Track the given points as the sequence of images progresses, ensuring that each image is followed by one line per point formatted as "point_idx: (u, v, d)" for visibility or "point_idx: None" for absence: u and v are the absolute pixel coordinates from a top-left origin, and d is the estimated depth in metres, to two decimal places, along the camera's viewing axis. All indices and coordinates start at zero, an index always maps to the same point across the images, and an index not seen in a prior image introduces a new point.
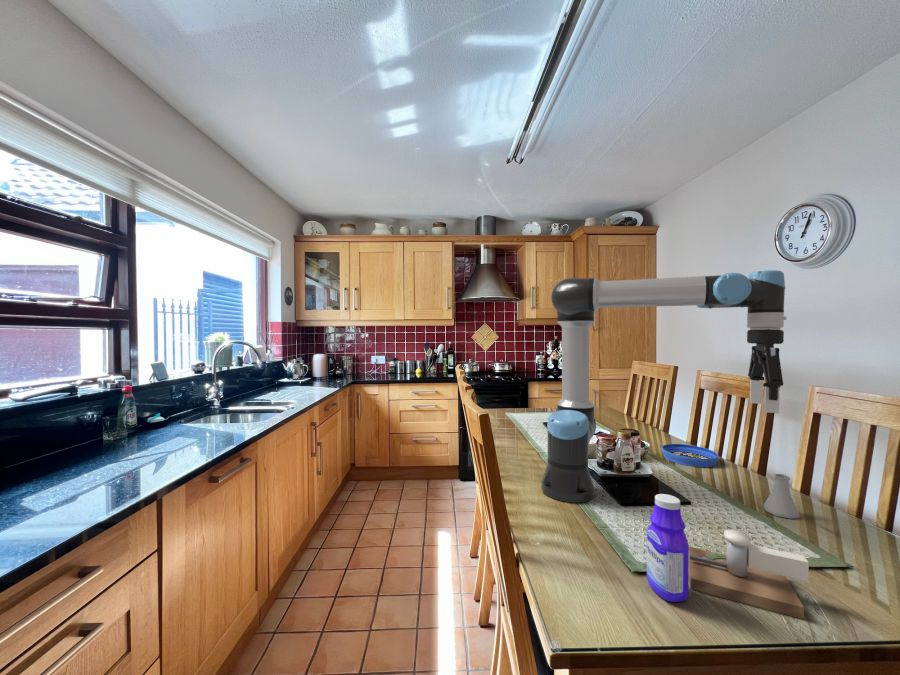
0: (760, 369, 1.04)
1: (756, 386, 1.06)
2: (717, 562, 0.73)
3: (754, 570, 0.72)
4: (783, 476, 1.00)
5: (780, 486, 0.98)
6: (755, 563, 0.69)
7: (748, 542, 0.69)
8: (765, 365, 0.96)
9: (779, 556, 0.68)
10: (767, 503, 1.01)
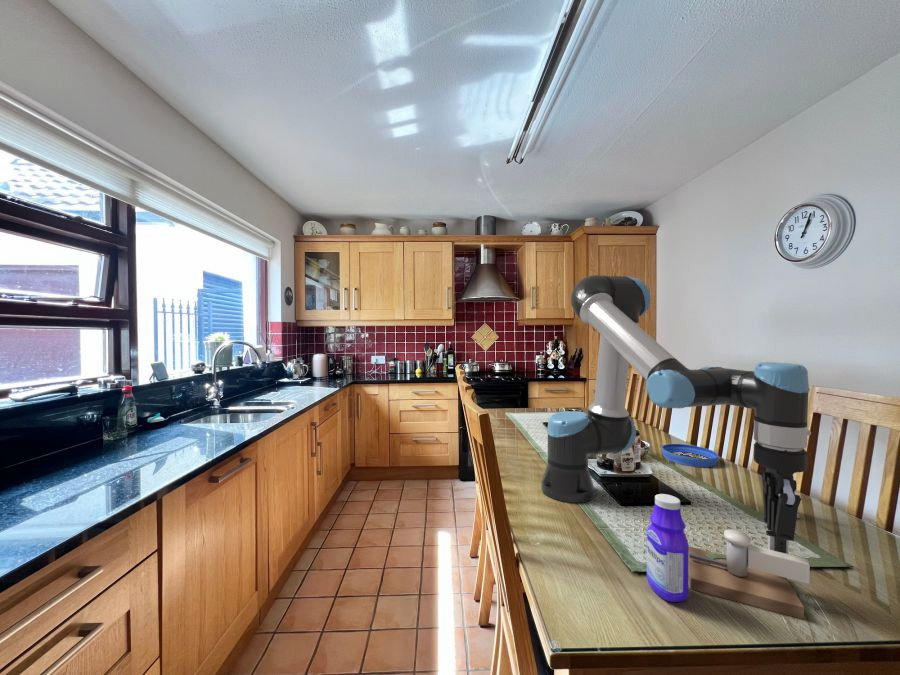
0: None
1: None
2: (717, 561, 0.73)
3: (754, 570, 0.72)
4: None
5: None
6: (755, 563, 0.69)
7: (747, 542, 0.69)
8: (775, 506, 0.69)
9: (779, 557, 0.67)
10: None
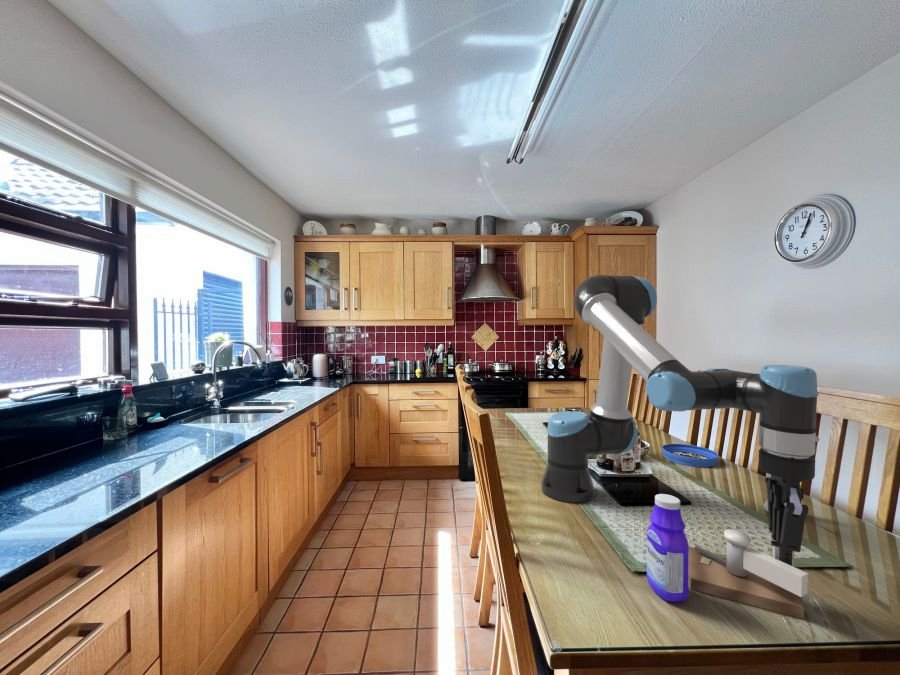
0: None
1: None
2: (719, 558, 0.74)
3: None
4: None
5: None
6: (749, 565, 0.68)
7: (742, 542, 0.69)
8: (781, 515, 0.66)
9: (772, 564, 0.65)
10: (767, 503, 1.01)
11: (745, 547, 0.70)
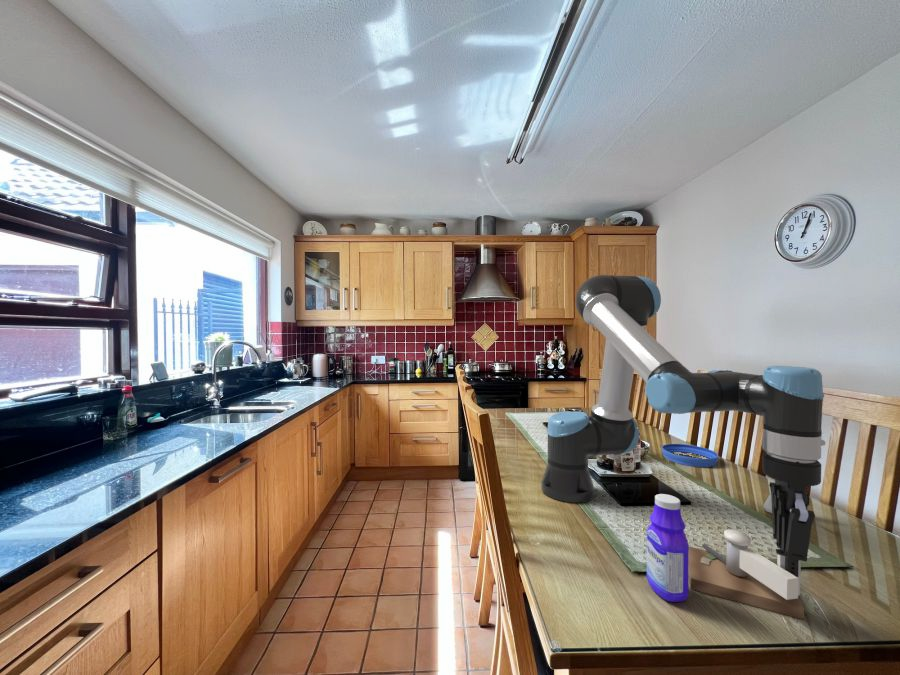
0: None
1: None
2: (722, 557, 0.74)
3: None
4: None
5: None
6: (744, 565, 0.68)
7: (738, 541, 0.70)
8: (786, 522, 0.63)
9: (763, 564, 0.65)
10: (767, 503, 1.01)
11: (743, 547, 0.70)
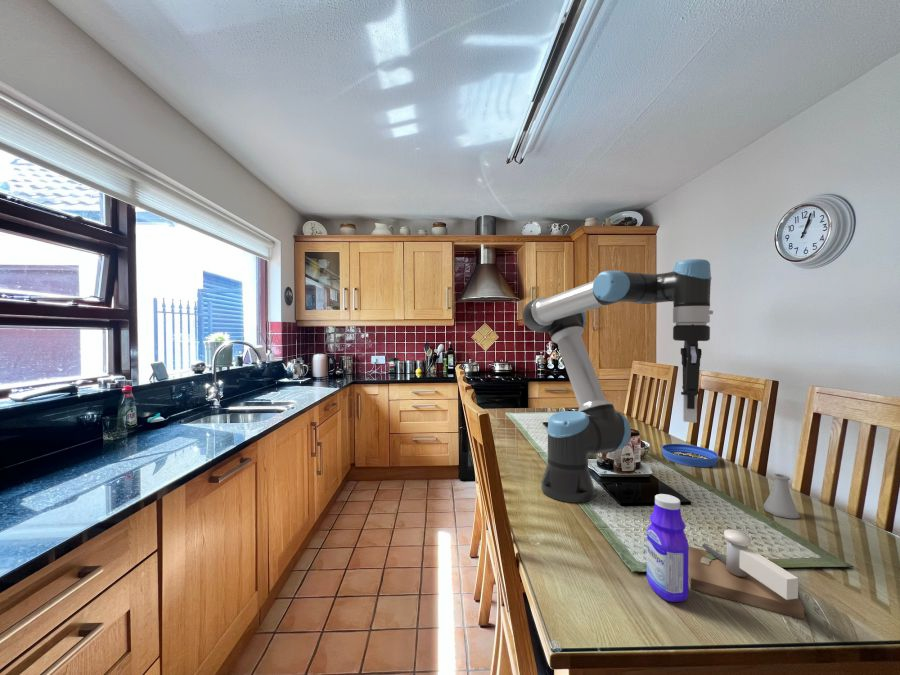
0: None
1: None
2: (722, 557, 0.74)
3: None
4: (783, 476, 1.00)
5: (780, 486, 0.98)
6: (744, 565, 0.68)
7: (738, 541, 0.70)
8: None
9: (763, 564, 0.65)
10: (767, 503, 1.01)
11: (743, 547, 0.70)
